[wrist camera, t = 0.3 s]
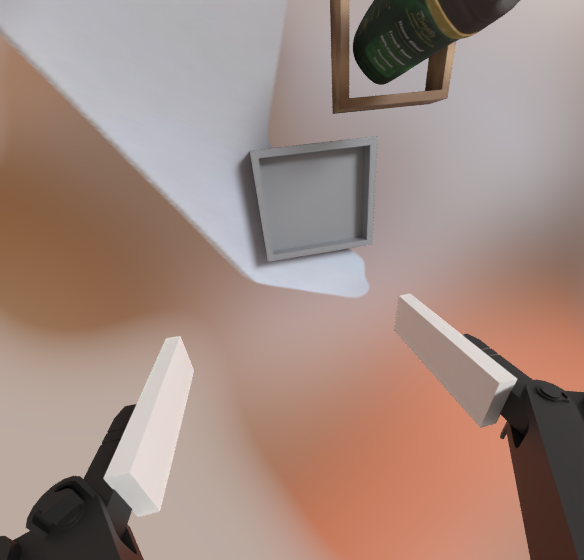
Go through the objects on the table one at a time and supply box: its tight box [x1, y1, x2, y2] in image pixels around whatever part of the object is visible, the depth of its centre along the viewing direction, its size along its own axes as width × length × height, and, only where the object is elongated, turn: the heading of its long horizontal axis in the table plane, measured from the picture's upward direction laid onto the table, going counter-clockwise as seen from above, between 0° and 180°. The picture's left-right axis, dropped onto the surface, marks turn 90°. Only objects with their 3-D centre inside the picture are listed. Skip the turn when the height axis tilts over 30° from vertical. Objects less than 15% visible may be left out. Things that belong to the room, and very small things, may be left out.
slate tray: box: [250, 136, 377, 262], centre depth 37 cm, size 16×18×3 cm
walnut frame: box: [330, 0, 456, 114], centre depth 30 cm, size 15×15×4 cm
